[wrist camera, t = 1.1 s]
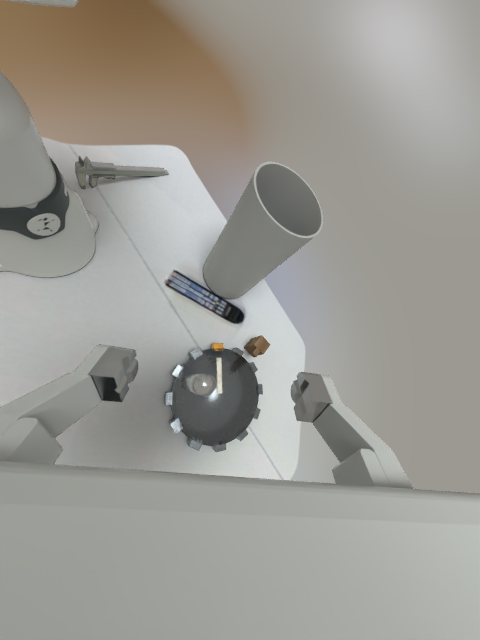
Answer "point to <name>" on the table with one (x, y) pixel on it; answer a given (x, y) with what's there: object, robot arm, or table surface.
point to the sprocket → (214, 397)
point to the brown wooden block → (257, 346)
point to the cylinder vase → (263, 230)
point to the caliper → (110, 171)
